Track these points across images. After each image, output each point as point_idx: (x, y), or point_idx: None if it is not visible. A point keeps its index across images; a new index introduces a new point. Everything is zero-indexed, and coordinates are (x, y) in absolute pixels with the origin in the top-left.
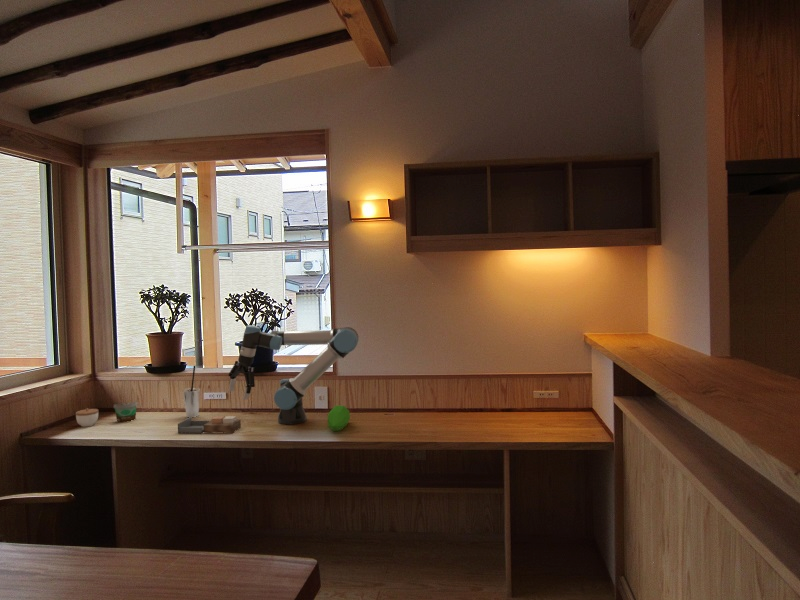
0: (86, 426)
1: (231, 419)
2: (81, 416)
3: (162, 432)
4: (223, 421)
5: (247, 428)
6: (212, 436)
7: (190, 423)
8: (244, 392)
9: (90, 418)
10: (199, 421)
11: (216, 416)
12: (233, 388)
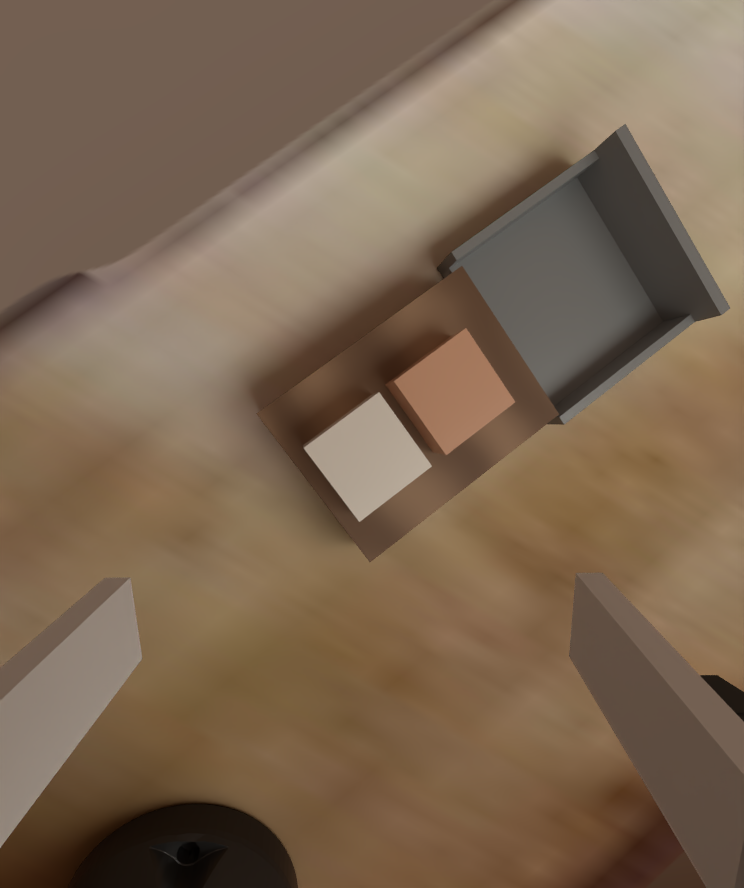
0: None
1: (311, 441)
2: None
3: (678, 119)
4: (371, 396)
5: (283, 558)
6: (305, 272)
7: (670, 309)
8: (45, 656)
9: None
10: (636, 353)
11: (499, 399)
12: (590, 684)
